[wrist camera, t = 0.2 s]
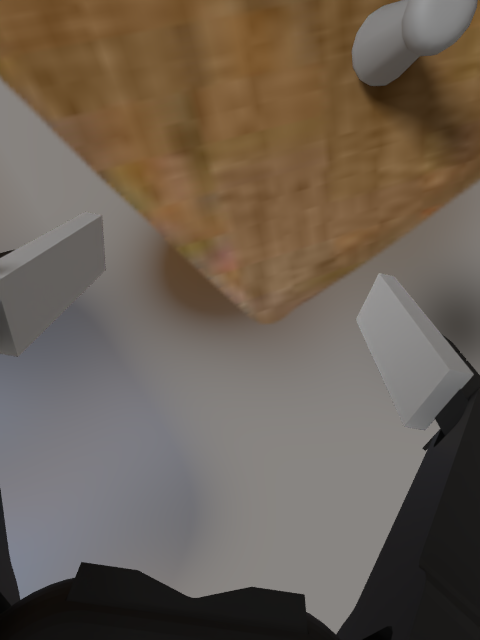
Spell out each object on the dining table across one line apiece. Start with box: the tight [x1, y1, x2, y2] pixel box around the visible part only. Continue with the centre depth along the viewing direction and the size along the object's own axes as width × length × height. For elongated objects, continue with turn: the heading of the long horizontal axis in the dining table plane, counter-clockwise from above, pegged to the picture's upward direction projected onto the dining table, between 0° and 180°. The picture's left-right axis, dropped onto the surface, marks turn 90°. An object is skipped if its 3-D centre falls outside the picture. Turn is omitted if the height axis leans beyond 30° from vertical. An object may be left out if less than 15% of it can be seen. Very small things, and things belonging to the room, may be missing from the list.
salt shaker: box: [352, 0, 477, 86], centre depth 25 cm, size 6×6×13 cm
